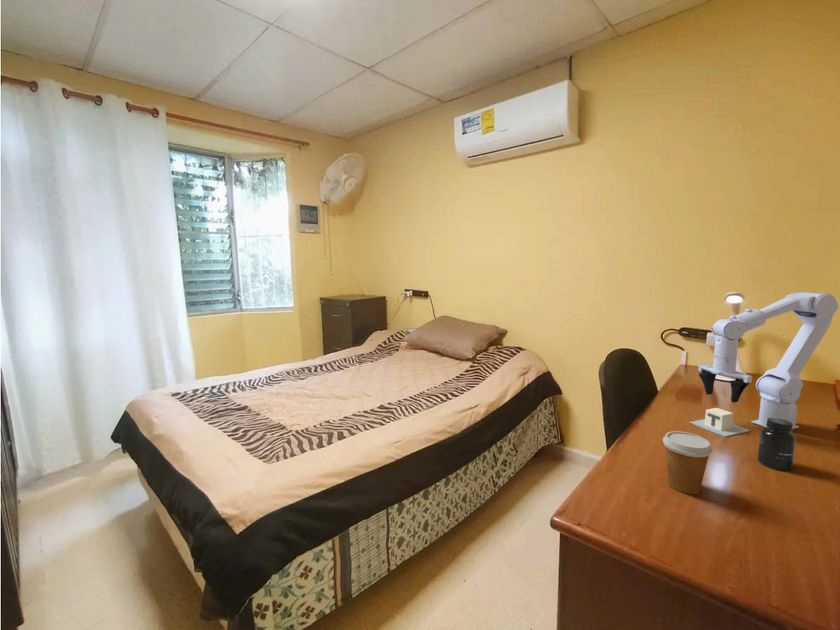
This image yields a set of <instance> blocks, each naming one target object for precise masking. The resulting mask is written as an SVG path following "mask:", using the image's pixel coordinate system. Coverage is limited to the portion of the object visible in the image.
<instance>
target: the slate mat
mask: <svg viewBox="0 0 840 630" xmlns="http://www.w3.org/2000/svg"><path fill="white" fill-rule="evenodd" d="M691 423H692V425H693V424H694V426H695V427H698V428H701V429H703V430H707V431H709V432H712V433H713V434H716V435H720V436H722V437H724V438H727V437H731V436H736V435H740V434H743V433H748V432H749V433H750V430H749V429H746V428H744V427H741V426H739V425H736V424H733V423H732V428H731V429H726V430H722V431H721V430H718V429H716V428H713V427H710V426H708V425H705V418H703V419H697V420H694V421H688V424H691Z"/></svg>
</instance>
